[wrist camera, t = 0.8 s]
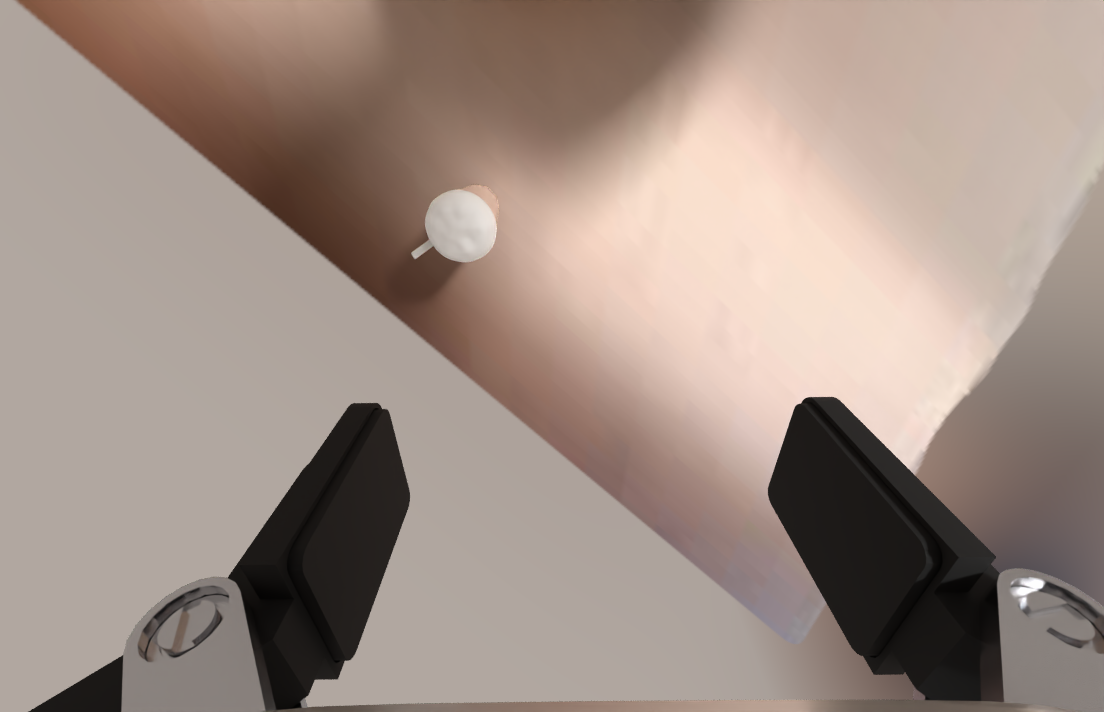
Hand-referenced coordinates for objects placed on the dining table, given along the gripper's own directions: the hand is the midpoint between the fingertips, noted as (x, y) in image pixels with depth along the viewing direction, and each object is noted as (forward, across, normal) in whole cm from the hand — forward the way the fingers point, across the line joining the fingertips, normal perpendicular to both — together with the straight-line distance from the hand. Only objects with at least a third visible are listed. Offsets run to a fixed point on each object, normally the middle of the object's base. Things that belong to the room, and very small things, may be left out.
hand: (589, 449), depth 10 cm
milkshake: (+28, +7, 0) cm, 29 cm away
